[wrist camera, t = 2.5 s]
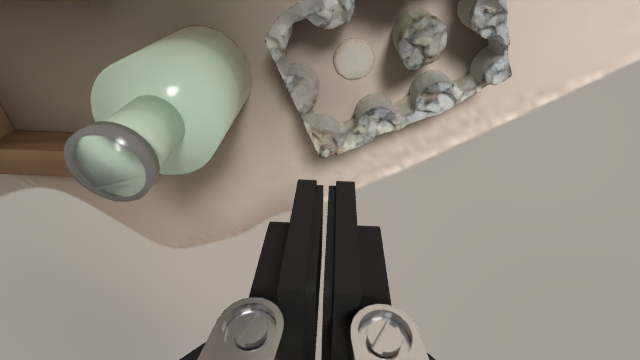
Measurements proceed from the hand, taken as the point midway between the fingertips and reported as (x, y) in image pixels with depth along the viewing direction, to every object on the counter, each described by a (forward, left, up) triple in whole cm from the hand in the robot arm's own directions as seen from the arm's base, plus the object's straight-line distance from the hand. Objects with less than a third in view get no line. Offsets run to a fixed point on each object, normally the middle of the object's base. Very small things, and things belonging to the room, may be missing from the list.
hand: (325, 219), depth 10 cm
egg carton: (-3, +3, -12) cm, 12 cm away
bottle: (-1, -7, -11) cm, 13 cm away
